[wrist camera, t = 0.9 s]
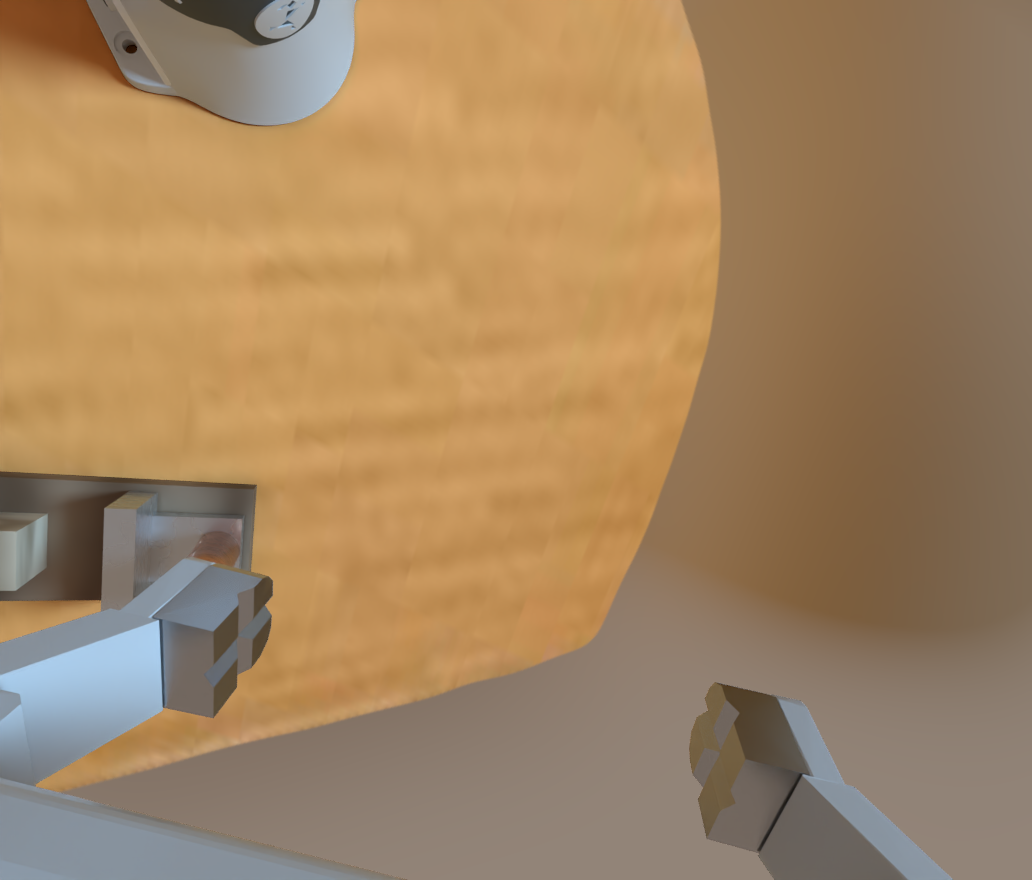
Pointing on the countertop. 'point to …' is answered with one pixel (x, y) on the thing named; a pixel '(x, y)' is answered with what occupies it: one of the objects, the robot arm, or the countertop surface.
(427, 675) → the countertop surface
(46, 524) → the block
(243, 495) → the base
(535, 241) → the countertop surface
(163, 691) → the robot arm
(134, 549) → the press handle
